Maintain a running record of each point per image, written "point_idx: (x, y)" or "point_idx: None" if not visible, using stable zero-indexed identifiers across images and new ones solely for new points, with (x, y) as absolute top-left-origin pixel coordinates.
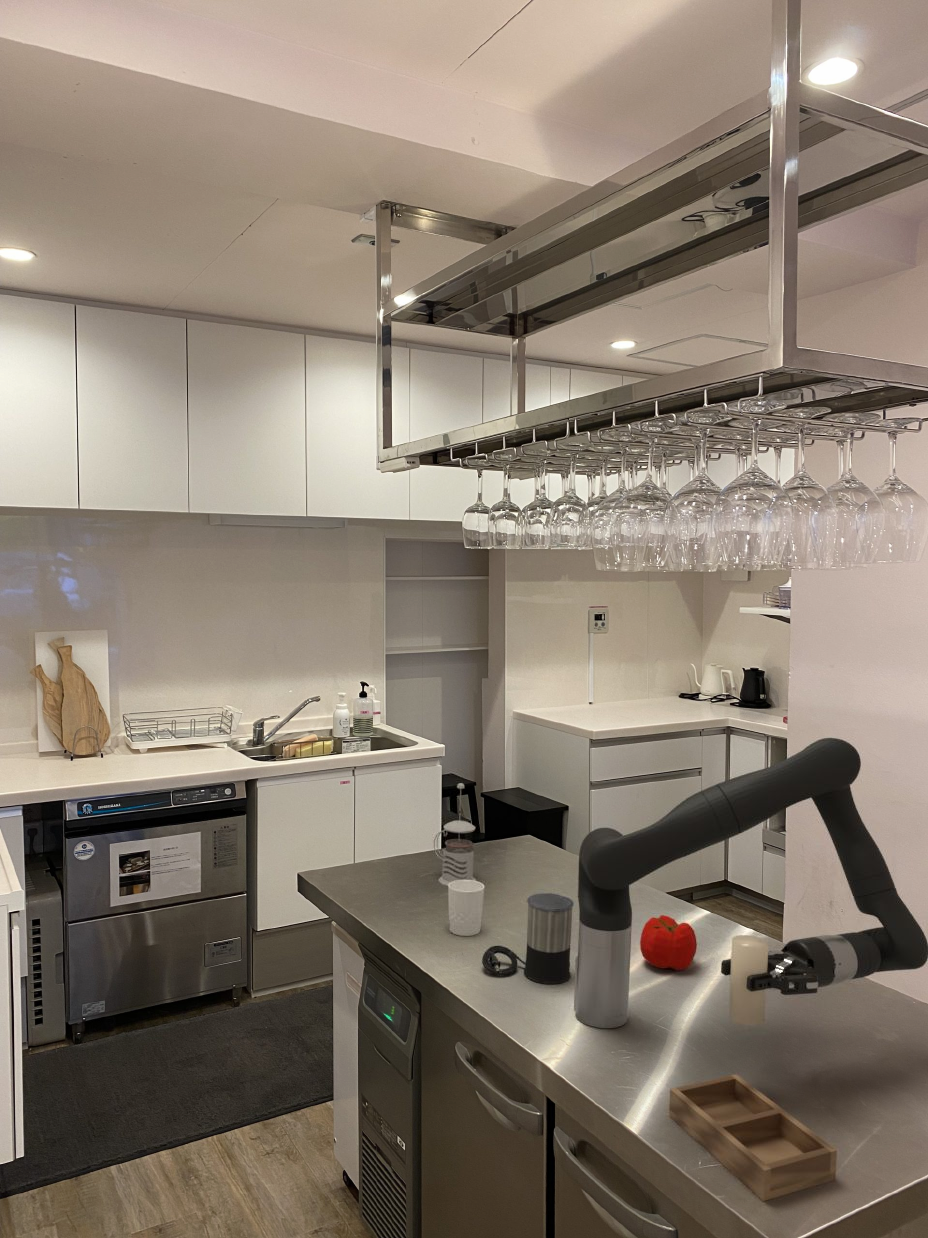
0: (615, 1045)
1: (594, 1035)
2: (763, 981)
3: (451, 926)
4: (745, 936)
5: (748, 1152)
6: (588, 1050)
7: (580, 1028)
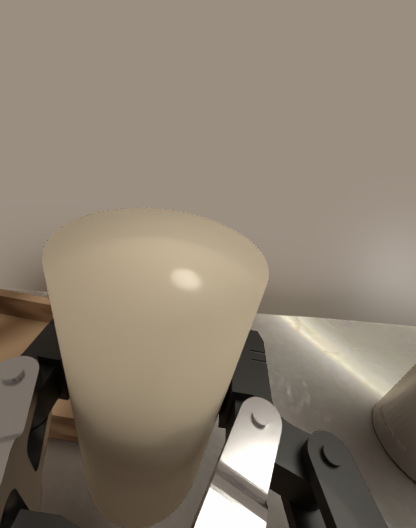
0: (322, 399)
1: (351, 393)
2: (51, 321)
3: None
4: (243, 276)
5: (18, 295)
6: (310, 361)
7: (371, 389)
